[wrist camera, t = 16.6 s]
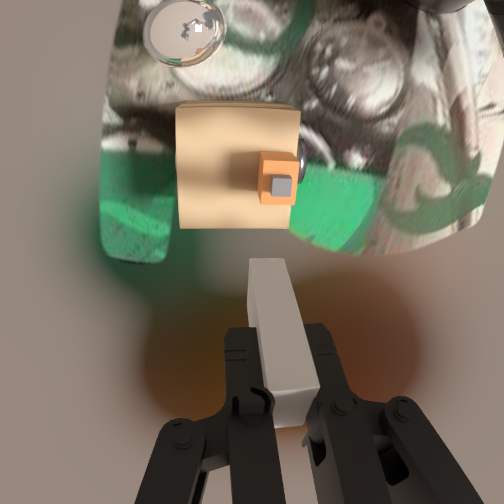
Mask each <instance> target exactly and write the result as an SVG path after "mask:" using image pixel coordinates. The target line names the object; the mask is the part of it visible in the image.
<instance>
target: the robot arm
mask: <svg viewBox="0 0 504 504" xmlns="http://www.w3.org/2000/svg"><path fill="white" fill-rule="evenodd" d="M405 1H407V2H408V3H409V4H411V5H413V6H414V7H416V8H418V9H420V10H423V11H425V12H428V13H433V14H447V13H454V12H457V11H460V10H462V9H463V8H464V7H466V6H467V4H469V3H471V2H473V1H474V0H405ZM484 2H485V5H486V7H487V10H488V12H489V15H490V18H491V20H492V23H493V26H494V28H495V31H496V34H497V37H498V40H499V43H500V46H501V50H502V53H503V56H504V0H484ZM247 309H248V318H249V327H241V328H229V329H228V332H227V334H226V335H225V337H224V354H225V355H224V356H225V385H226V386H225V387H226V401H225V404H224V406H223V407H222V409H221V410H220V411H219V412H218V413H216V414H215V415H213V416H211V417H208V418H205V419H201V420H198V421H195V422H194V421H192V420H189V419H184V418H178V419H174V420H170V421H169V422H167V423H166V424H165V425H164V426H163V428H162V429H161V430H160V432H159V435H158V438H157V440H156V443H155V446H154V449H153V452H152V454H151V457H150V460H149V463H148V466H147V469H146V472H145V474H144V477H143V480H142V483H141V486H140V489H139V492H138V494H137V497H136V500H135V503H134V504H201V502H202V498H203V494H204V490H205V487H206V482H207V479H208V475H209V471H212V470H215V469H218V468H221V467H224V466H227V465H230V477H231V478H230V479H231V491H232V492H231V493H232V504H286V501H285V494H284V488H283V482H282V474H281V468H280V461H279V454H278V449H277V441H276V436H275V428H281V427H291V426H300V425H303V424H304V422H305V420H306V422H307V427H308V431H307V433H306V435H305V437H304V439H303V441H302V447H305V446H306V444H307V447H308V452H309V457H310V463H311V468H312V473H313V479H314V484H315V489H316V494H317V500H318V504H484V503H483V501H482V500H481V498H480V497H479V495H478V493H477V492H476V490H475V489H474V487H473V485H472V484H471V482H470V481H469V479H468V478H467V476H466V475H465V473H464V472H463V470H462V469H461V467H460V466H459V464H458V463H457V461H456V460H455V458H454V457H453V455H452V454H451V452H450V451H449V449H448V448H447V446H446V445H445V443H444V442H443V440H442V439H441V438H440V436H439V435H438V433H437V432H436V430H435V429H434V427H433V426H432V425H431V423H430V422H429V420H428V419H427V418H426V416H425V415H424V413H423V412H422V410H421V409H420V408H419V406H418V405H417V404H416V403H415V402H414V401H413V400H412V399H410V398H408V397H406V396H397V397H394V398H392V399H391V400H390V401H388V403H380V402H372V401H367V400H363V399H361V398H359V397H358V396H357V395H356V394H354V393H353V392H352V391H351V389H350V387H349V385H348V383H347V380H346V377H345V374H344V371H343V368H342V365H341V362H340V359H339V356H338V354H337V350H336V347H335V346H334V342H333V339H332V336H331V333H330V332H329V331H328V329H327V328H326V327H325V326H324V325H323V324H322V323H317V324H303V323H302V319H301V316H300V312H299V309H298V305H297V302H296V298H295V295H294V291H293V288H292V285H291V281H290V278H289V275H288V271H287V268H286V264H285V261H284V258H256V259H255V258H251V259H250V262H249V279H248V298H247Z"/></svg>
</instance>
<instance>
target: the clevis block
mask: <svg viewBox="0 0 504 504" xmlns="http://www.w3.org/2000/svg"><path fill="white" fill-rule="evenodd" d="M175 109H176V162H177V186H178V204H179V219H180V228H288V227H289V219H290V210H291V205H261V204H260V200H259V197H258V193H257V187H258V171H259V155H260V151H266V152H287V153H293V154H294V156H295V157H296V156H297V146H298V136H299V126H300V115H301V111H300V110H298V109H296V108H294V107H292V106H290V105H287V104H285V103H277V102H260V101H230V100H202V101H185V102H184V103H182V104H181V105H179V106H178V107H176V108H175Z"/></svg>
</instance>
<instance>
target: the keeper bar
mask: <svg viewBox="0 0 504 504" xmlns="http://www.w3.org/2000/svg"><path fill="white" fill-rule="evenodd" d="M299 164H300V162H299V160H298V159H297V158H296V157H295V156H294V154H293V153H287V152H266V151H260V155H259V171H258V187H257V193H258V197H259V200H260V204H261V205H295V199H296V190H297V182H298V173H299Z"/></svg>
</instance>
